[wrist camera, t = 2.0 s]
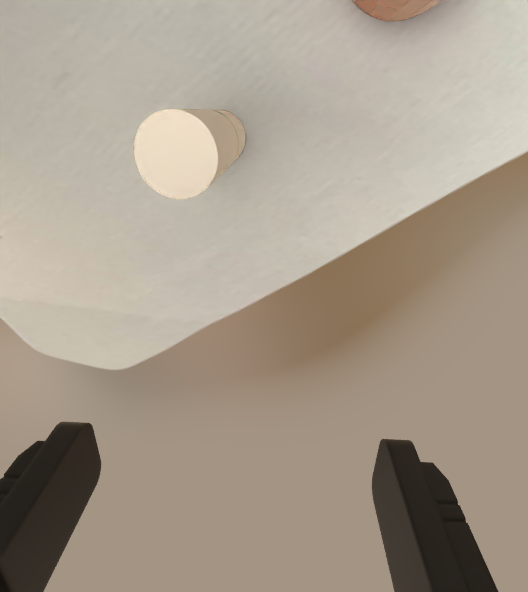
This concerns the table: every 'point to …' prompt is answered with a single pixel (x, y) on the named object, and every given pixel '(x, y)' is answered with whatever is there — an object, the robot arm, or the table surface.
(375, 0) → the pen cup
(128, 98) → the table surface
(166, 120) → the tube
